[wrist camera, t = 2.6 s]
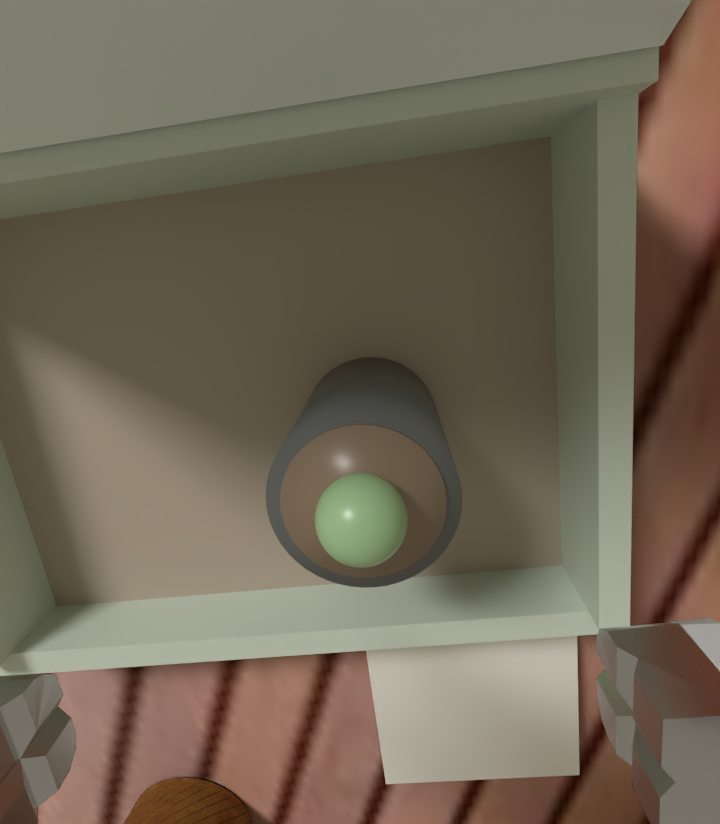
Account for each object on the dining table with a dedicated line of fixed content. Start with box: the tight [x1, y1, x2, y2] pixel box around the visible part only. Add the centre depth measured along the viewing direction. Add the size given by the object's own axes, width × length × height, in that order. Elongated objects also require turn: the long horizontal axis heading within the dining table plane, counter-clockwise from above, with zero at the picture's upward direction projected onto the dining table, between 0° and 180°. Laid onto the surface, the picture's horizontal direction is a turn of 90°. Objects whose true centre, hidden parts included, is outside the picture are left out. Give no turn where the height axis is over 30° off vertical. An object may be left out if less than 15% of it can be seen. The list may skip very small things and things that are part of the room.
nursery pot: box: [266, 357, 462, 588], centre depth 15 cm, size 5×5×9 cm
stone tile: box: [366, 636, 580, 784], centre depth 23 cm, size 9×9×1 cm
